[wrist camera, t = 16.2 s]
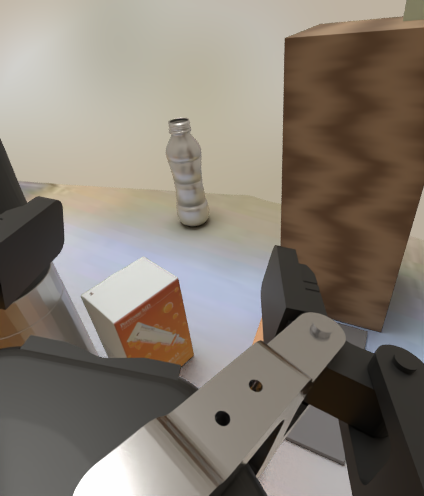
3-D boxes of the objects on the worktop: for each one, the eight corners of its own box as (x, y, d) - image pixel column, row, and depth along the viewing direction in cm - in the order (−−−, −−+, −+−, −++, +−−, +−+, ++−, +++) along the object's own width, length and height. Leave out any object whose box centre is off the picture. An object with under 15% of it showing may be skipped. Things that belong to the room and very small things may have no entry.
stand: (279, 304, 47) (284, 38, 28) (303, 252, 56) (320, 24, 37) (380, 332, 41) (471, 23, 23) (389, 269, 50) (459, 11, 32)
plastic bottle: (187, 234, 64) (169, 129, 52) (173, 220, 69) (153, 121, 57) (216, 223, 66) (204, 119, 55) (200, 210, 71) (186, 113, 60)
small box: (144, 403, 37) (112, 325, 29) (113, 371, 41) (77, 294, 33) (196, 355, 41) (179, 276, 34) (164, 330, 45) (142, 254, 38)
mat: (224, 411, 35) (224, 409, 35) (273, 308, 46) (273, 305, 46) (343, 465, 30) (344, 462, 30) (366, 334, 41) (367, 331, 41)
